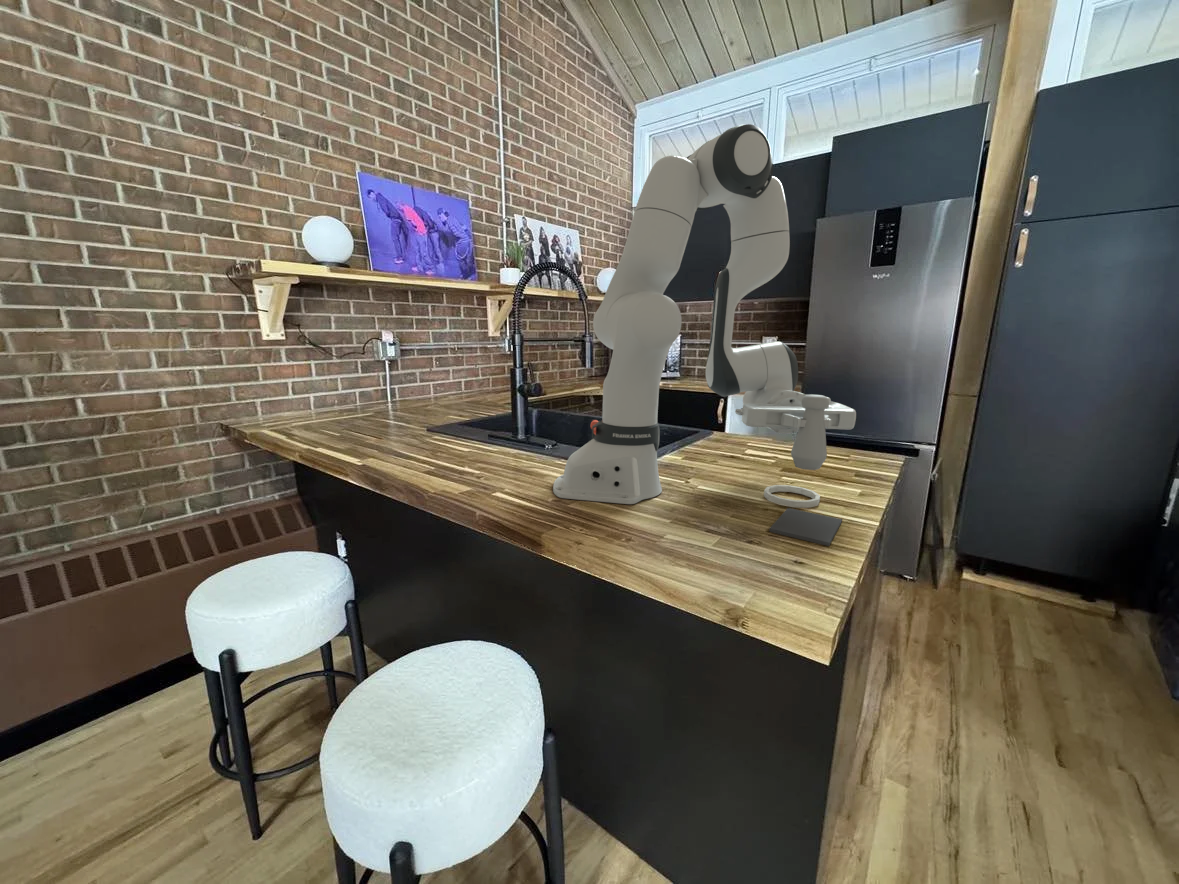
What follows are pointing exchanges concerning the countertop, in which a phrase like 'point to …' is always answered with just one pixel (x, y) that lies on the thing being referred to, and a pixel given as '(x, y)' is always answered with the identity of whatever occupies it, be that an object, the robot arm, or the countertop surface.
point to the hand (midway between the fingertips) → (814, 423)
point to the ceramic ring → (789, 502)
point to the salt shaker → (811, 434)
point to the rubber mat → (807, 526)
